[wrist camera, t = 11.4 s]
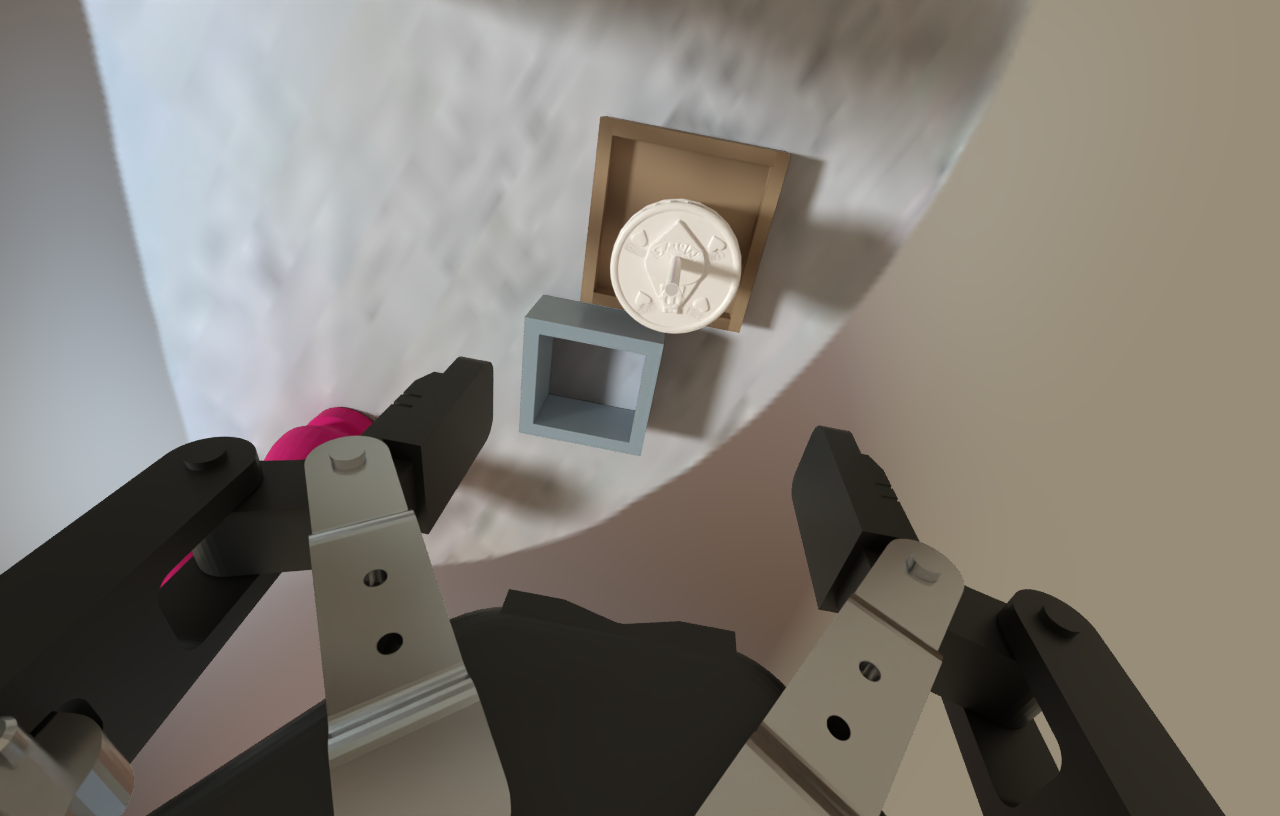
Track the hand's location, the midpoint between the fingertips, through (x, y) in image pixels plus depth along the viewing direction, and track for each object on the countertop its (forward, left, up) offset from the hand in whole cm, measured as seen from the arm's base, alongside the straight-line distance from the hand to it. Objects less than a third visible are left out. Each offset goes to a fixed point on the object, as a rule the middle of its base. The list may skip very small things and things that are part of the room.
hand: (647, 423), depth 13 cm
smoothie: (0, 0, -23) cm, 23 cm away
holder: (+11, -4, -24) cm, 27 cm away
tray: (0, 0, -24) cm, 24 cm away
